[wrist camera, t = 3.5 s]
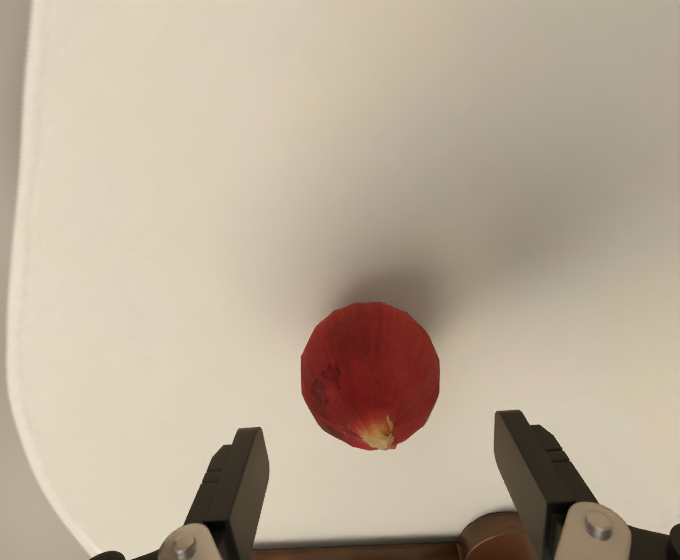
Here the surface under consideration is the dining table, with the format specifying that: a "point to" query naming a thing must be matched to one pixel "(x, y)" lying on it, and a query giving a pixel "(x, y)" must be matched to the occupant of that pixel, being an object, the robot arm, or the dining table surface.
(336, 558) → the spoon
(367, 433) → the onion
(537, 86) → the dining table surface
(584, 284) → the dining table surface
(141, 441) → the dining table surface
